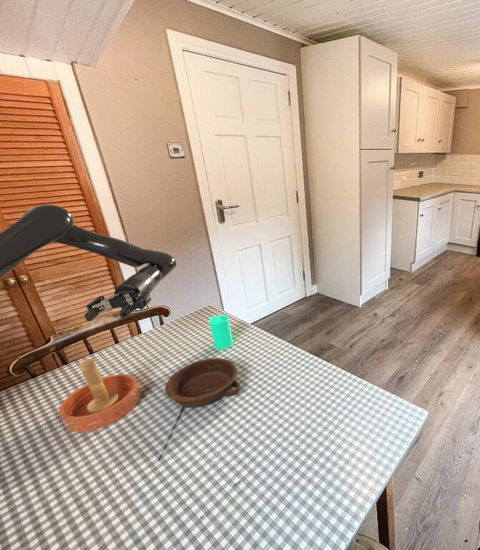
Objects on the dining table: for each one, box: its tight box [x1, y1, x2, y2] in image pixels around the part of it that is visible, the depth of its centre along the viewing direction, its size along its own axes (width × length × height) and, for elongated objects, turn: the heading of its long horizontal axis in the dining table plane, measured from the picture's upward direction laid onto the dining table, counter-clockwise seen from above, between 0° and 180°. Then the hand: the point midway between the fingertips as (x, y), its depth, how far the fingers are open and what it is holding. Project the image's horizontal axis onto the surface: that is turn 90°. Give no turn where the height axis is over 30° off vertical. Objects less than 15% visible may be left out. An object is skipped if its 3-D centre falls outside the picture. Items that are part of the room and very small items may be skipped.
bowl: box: [58, 373, 143, 433], centre depth 80 cm, size 16×16×5 cm
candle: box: [208, 314, 234, 350], centre depth 105 cm, size 6×6×12 cm
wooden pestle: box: [78, 358, 121, 415], centre depth 77 cm, size 6×6×14 cm
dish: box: [164, 357, 241, 409], centre depth 86 cm, size 17×22×5 cm
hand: (104, 317), depth 81 cm, fingers open, 8 cm apart
